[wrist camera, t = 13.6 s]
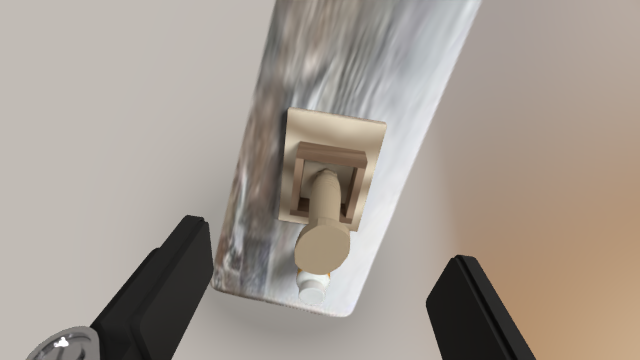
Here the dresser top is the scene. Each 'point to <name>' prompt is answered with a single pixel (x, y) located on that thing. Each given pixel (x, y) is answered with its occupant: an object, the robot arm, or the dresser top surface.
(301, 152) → the wooden base with box
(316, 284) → the supplement bottle
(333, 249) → the handle
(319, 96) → the dresser top surface
